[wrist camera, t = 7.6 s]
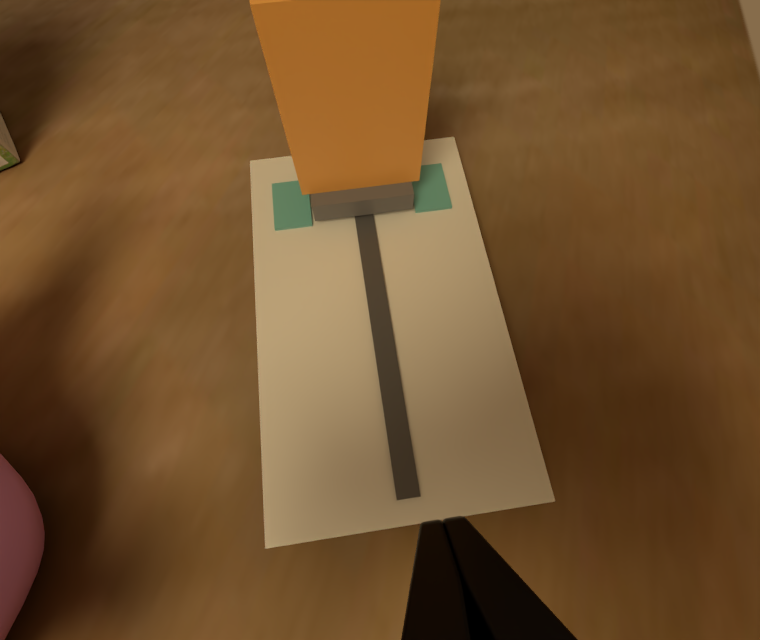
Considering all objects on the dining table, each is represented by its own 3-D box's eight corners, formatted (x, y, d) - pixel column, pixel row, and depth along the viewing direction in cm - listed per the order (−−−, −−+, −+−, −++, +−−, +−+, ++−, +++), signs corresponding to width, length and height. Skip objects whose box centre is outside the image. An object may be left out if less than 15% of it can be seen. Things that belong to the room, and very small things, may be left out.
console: (542, 500, 19) (557, 501, 17) (274, 544, 18) (263, 549, 17) (450, 155, 26) (454, 134, 25) (257, 178, 26) (248, 158, 24)
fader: (420, 207, 22) (447, 1, 13) (307, 222, 22) (250, 21, 13) (407, 150, 24) (423, -73, 14) (301, 163, 24) (247, -57, 14)
